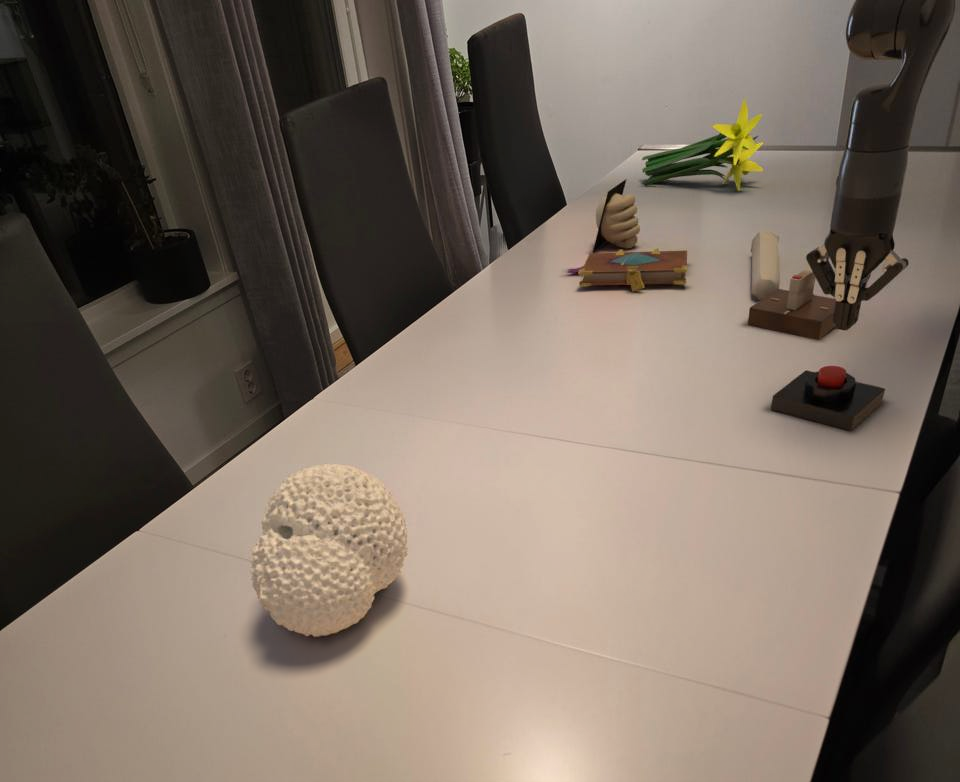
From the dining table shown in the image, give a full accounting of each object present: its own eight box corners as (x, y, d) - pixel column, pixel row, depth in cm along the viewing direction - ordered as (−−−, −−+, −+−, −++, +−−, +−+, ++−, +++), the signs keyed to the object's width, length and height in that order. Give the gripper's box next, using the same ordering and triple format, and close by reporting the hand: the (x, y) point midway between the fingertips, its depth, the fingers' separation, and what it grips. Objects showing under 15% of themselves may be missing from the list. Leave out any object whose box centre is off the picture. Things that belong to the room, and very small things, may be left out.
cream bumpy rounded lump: (285, 481, 102) (295, 414, 87) (418, 533, 106) (450, 478, 90) (224, 627, 96) (223, 583, 81) (368, 678, 99) (393, 645, 84)
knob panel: (846, 318, 143) (850, 300, 141) (818, 339, 138) (821, 320, 136) (776, 305, 150) (778, 287, 148) (747, 324, 145) (749, 306, 143)
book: (568, 271, 177) (568, 245, 174) (688, 267, 171) (690, 241, 168) (556, 294, 164) (556, 268, 161) (685, 292, 159) (687, 264, 156)
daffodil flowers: (669, 175, 226) (794, 142, 202) (650, 219, 223) (774, 191, 199) (641, 123, 214) (769, 82, 190) (620, 169, 211) (748, 133, 187)
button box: (882, 402, 120) (888, 376, 117) (850, 431, 115) (856, 404, 112) (803, 383, 127) (807, 358, 124) (770, 409, 122) (774, 383, 119)
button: (848, 380, 118) (851, 368, 117) (836, 390, 116) (839, 378, 115) (824, 375, 120) (826, 363, 119) (812, 384, 118) (814, 372, 117)
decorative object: (640, 250, 186) (623, 265, 180) (599, 234, 188) (580, 248, 182) (658, 190, 176) (640, 204, 170) (614, 174, 179) (595, 187, 172)
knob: (803, 297, 144) (808, 265, 140) (812, 299, 143) (817, 267, 139) (786, 309, 141) (790, 277, 137) (794, 310, 140) (799, 278, 136)
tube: (786, 280, 148) (783, 234, 166) (758, 271, 148) (758, 226, 166) (772, 309, 152) (771, 261, 169) (745, 300, 152) (746, 253, 169)
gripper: (937, 183, 100) (904, 326, 111) (831, 174, 107) (810, 310, 119) (911, 200, 96) (880, 347, 107) (803, 190, 103) (784, 328, 115)
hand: (843, 327), depth 113 cm, fingers closed
